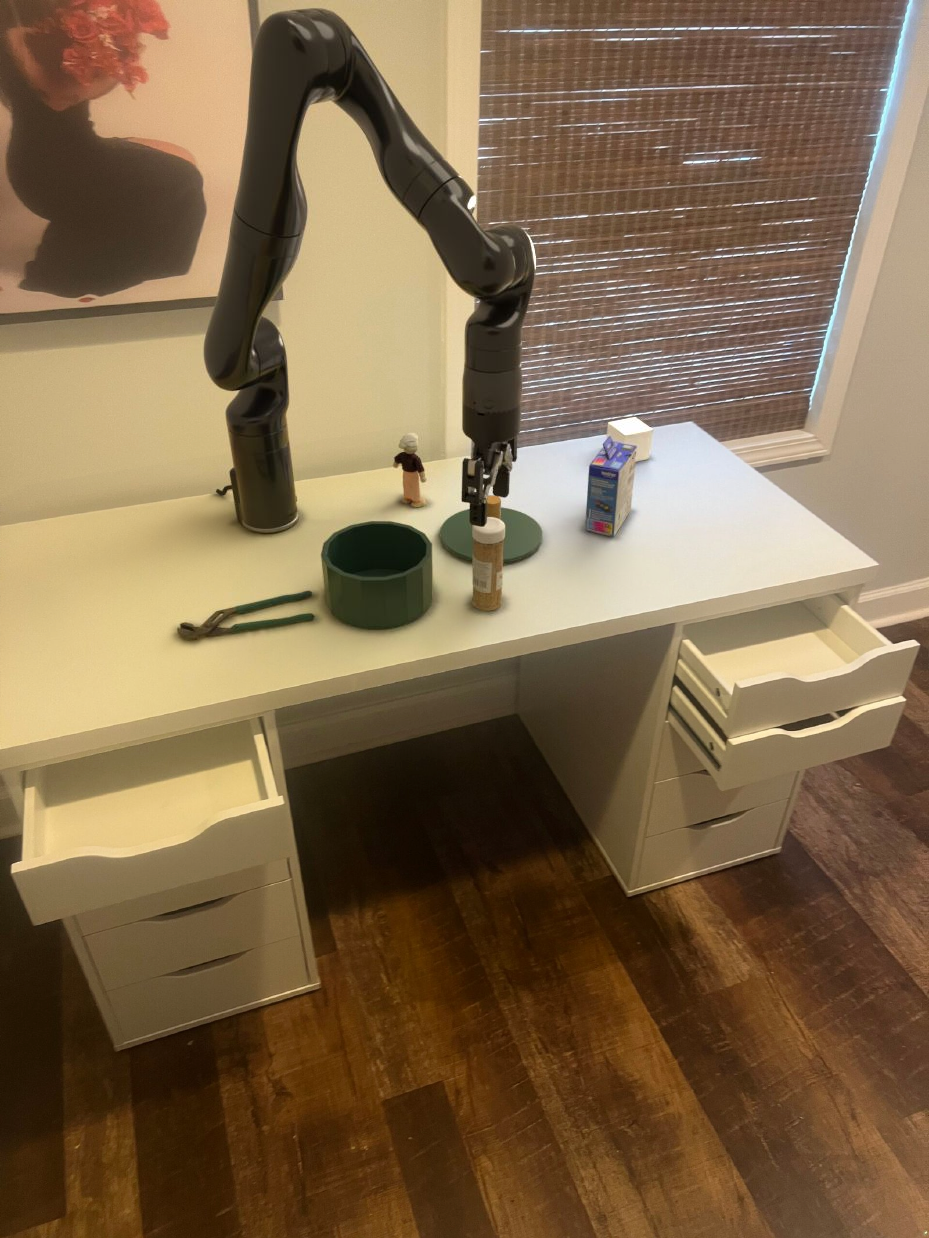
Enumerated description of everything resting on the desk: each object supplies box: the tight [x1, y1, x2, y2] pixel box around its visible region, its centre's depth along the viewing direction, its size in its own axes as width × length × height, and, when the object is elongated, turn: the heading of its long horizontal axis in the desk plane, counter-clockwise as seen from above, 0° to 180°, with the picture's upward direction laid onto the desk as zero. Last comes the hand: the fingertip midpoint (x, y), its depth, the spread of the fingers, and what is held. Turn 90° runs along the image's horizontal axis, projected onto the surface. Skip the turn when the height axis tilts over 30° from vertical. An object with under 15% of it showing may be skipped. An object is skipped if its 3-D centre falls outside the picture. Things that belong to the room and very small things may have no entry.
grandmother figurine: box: [392, 432, 427, 508], centre depth 153 cm, size 8×4×13 cm, turn 58°
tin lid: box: [439, 494, 543, 564], centre depth 145 cm, size 17×17×7 cm
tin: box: [320, 520, 434, 631], centre depth 131 cm, size 16×16×8 cm
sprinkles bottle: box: [471, 517, 505, 612], centre depth 129 cm, size 5×5×14 cm
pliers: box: [176, 590, 316, 641], centre depth 129 cm, size 20×6×1 cm, turn 109°
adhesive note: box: [605, 416, 654, 463], centre depth 170 cm, size 6×6×6 cm
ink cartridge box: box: [584, 436, 637, 538], centre depth 148 cm, size 10×6×14 cm, turn 155°
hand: (489, 509), depth 124 cm, fingers open, 8 cm apart
